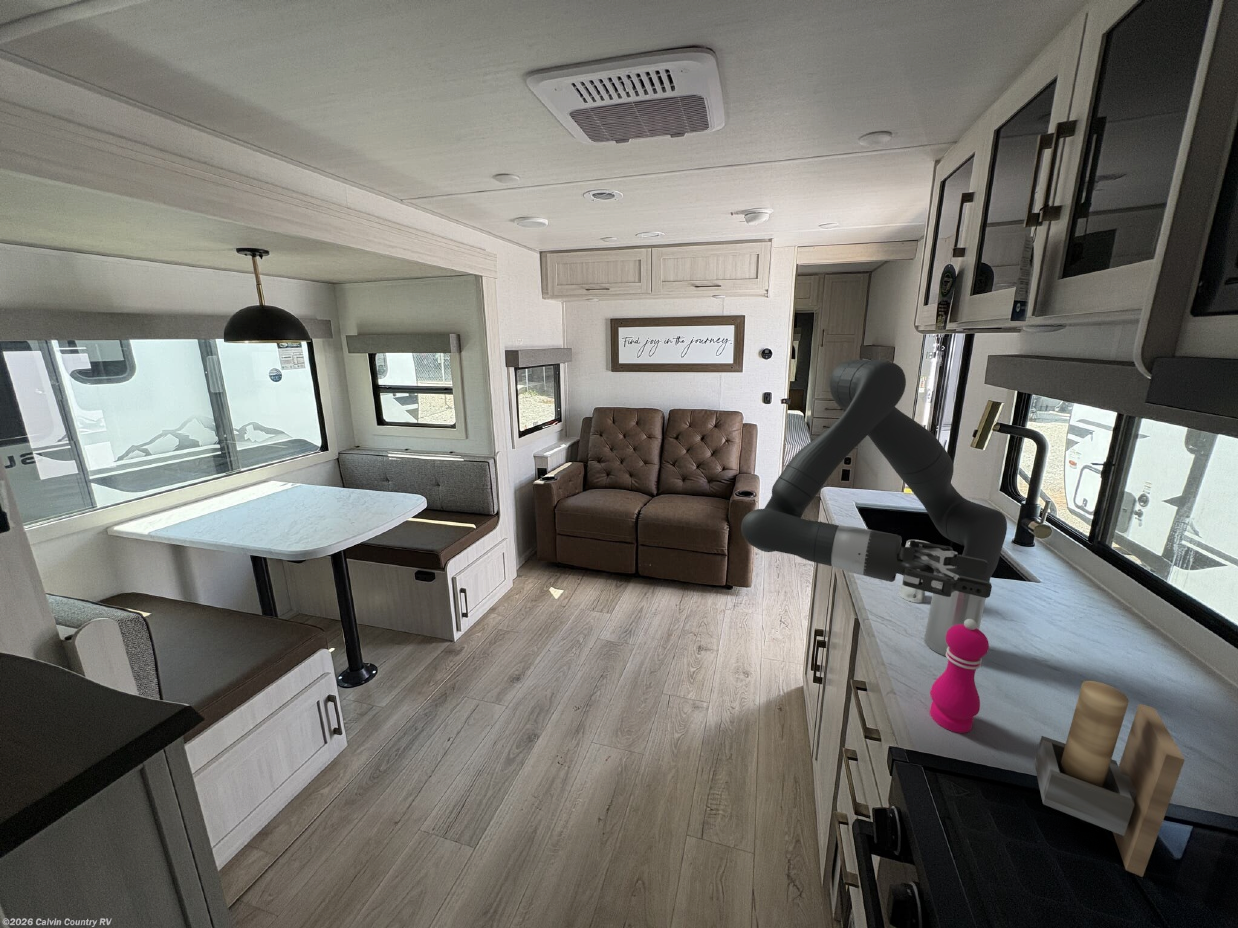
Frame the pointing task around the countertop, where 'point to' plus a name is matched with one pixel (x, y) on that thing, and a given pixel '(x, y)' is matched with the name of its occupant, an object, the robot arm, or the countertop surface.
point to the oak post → (1093, 732)
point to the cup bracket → (1120, 787)
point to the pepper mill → (959, 678)
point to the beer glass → (912, 589)
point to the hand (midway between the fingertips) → (988, 578)
